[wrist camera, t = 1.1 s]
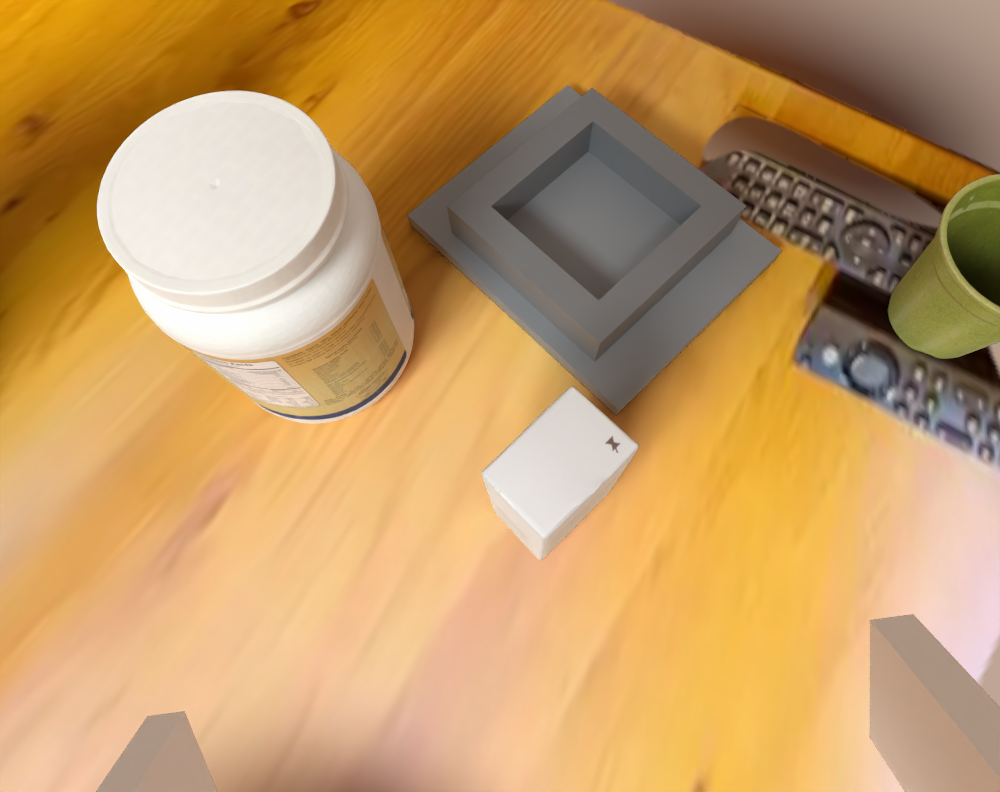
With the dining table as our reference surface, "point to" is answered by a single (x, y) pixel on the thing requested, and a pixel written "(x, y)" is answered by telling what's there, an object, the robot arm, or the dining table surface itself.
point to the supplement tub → (260, 253)
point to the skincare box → (557, 471)
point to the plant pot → (955, 279)
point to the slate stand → (596, 241)
